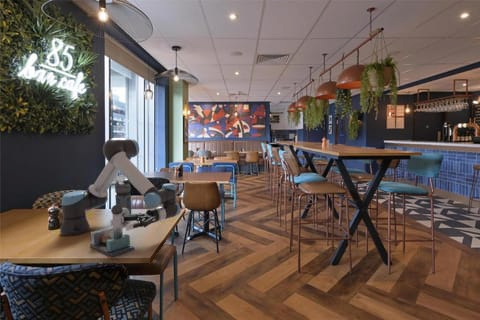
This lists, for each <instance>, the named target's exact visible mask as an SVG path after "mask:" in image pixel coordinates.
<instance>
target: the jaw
mask: <svg viewBox="0 0 480 320" xmlns="http://www.w3.org/2000/svg"><path fill="white" fill-rule="evenodd" d="M110 209H111V214H112V220H113V225H112V226H113V227H112V228H113V235H114V238H112V239H109V240H106V241H107V251H109V252H112V251H115V250H118V249H120V248H123V247H126V246H129V245H131V238H130V234H127V233H126V234H123V230H124V229H123V223H122V211H123V208H122V206H120V205H116V204H114V205H113V206H112V207H111V208H110Z"/></svg>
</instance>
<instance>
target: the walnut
mask: <svg viewBox="0 0 480 320" xmlns="http://www.w3.org/2000/svg"><path fill="white" fill-rule="evenodd" d="M109 239H111V236H110V235H108V234H106V235H104V236H103V237H102V242H103V243H107V241H106V240H109Z"/></svg>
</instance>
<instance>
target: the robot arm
mask: <svg viewBox="0 0 480 320" xmlns="http://www.w3.org/2000/svg"><path fill="white" fill-rule="evenodd" d="M102 146H103V147H102V153H103V155H104V158H105V159H106V160H107V162H106V165H104V168H103V169H102V171H101V172H100V174H99V175H98V177H97V179H96V180H95V182H94V184H93V183H92V184H90V185H89V186H88V188H87V189H86V190H85V191H84V190H74V191H70V192H67V193H65V194H63V195H62V196H61V209H62V212H61V213H62V223H61V226H60V230H59V234H60V236H64V237H70V236H71V237H72V236H79V235H83V234H84V233H88V232H90V230H91V225H90V224H89V222H88V221H89V220H88V218H87V213H86V212H87V211H91V210H95V209H98V208H101V207H102V206H104V205H106V203H107V202H108V200H109V198H108V196H109V195H108V194H109V193H108V190H109V188H110V187H111V185H112V184H113V182H114V181H115V179H116V177H118V174H119V173H121V174H122V175H123V176H124V177H125V178H126V180H129V181H130V182H131V185H133V187H134V188H135V189H136V190H137V191H138V192H139V193H140V194H141V195H142V196H143V201H144V204H145V206H146V207H148V208H150V209H147V210H146V212H145V213H142V212H138V213H131V214H130V215H122V224H125V223H124V221H126V222H132V221H135V222H132V223H127V224H125V230H126V232H127V231H131V230H134V229H137V228H146V227H148V226H149V225H152V224H154V223H157V222H162V221H164V220H167V219H170V218H174V217H177V216H178V215H180V214H181V210H182V209H181V207H180V203H177V190H176V188H177V187H176V184H174V183H163V184H162V186H161V189H158V188H157V187H156V186H155V185H154V184H153V183H152V182H151V181H150V180H149V179H148V178H147V176H145V175H144V173H143V172H142V171H140V169H139V168H138V167H137V166H136V165H135V164H134V163H133V161H132V160H131V159H132V158H135V157H137V156H138V155H139V153H140V145H139V143H138V141H136V140H135V139H134V138H130V137H124V138H123V137H122V138H121V137H120V138H119V137H114V138H109V139H108V140H106V141H105V142H104V144H103V145H102ZM160 205H162V206H160ZM111 226H113V219H110V227H111Z"/></svg>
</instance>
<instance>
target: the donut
mask: <svg viewBox="0 0 480 320" xmlns="http://www.w3.org/2000/svg"><path fill="white" fill-rule="evenodd" d="M123 213H124V215H131V214H130V213H129V210H128V209H127V208H123V211H122V215H123ZM125 223H127V221H124V223H123V224H125Z"/></svg>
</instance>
